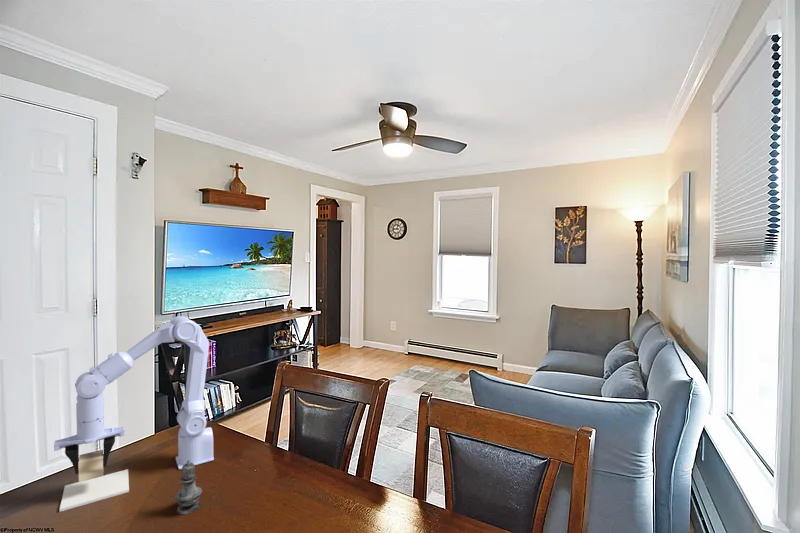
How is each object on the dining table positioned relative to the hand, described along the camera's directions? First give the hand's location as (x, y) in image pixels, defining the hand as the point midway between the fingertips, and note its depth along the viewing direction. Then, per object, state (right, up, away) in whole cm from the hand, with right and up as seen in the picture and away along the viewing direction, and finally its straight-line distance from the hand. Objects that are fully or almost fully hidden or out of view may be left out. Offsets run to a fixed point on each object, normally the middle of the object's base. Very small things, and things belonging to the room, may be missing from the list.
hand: (91, 468), depth 104 cm
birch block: (0, -2, 0) cm, 2 cm away
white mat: (+1, -6, +1) cm, 6 cm away
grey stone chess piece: (+29, -7, -6) cm, 30 cm away
